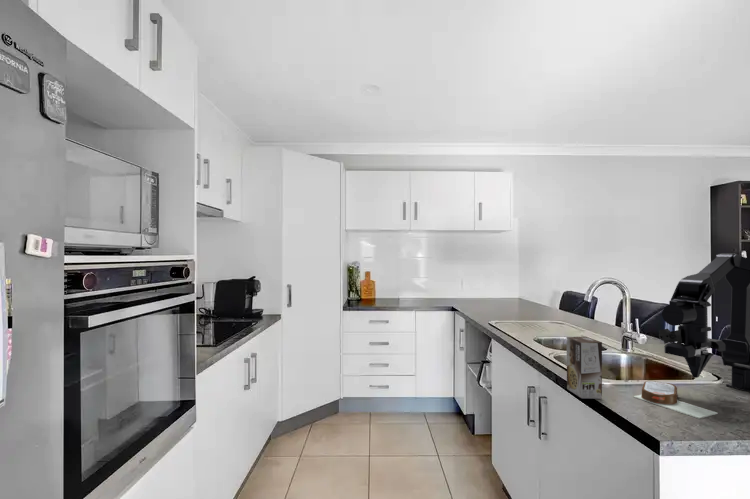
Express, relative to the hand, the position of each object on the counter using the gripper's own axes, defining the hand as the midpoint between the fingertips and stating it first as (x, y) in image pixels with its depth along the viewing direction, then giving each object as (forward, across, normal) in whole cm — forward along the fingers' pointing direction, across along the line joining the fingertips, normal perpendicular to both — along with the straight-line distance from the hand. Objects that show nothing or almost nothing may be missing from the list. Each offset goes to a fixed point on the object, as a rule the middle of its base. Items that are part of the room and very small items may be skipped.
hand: (695, 377), depth 120 cm
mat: (+6, +11, 0) cm, 13 cm away
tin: (+4, +6, -1) cm, 7 cm away
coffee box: (+6, +26, -16) cm, 31 cm away
